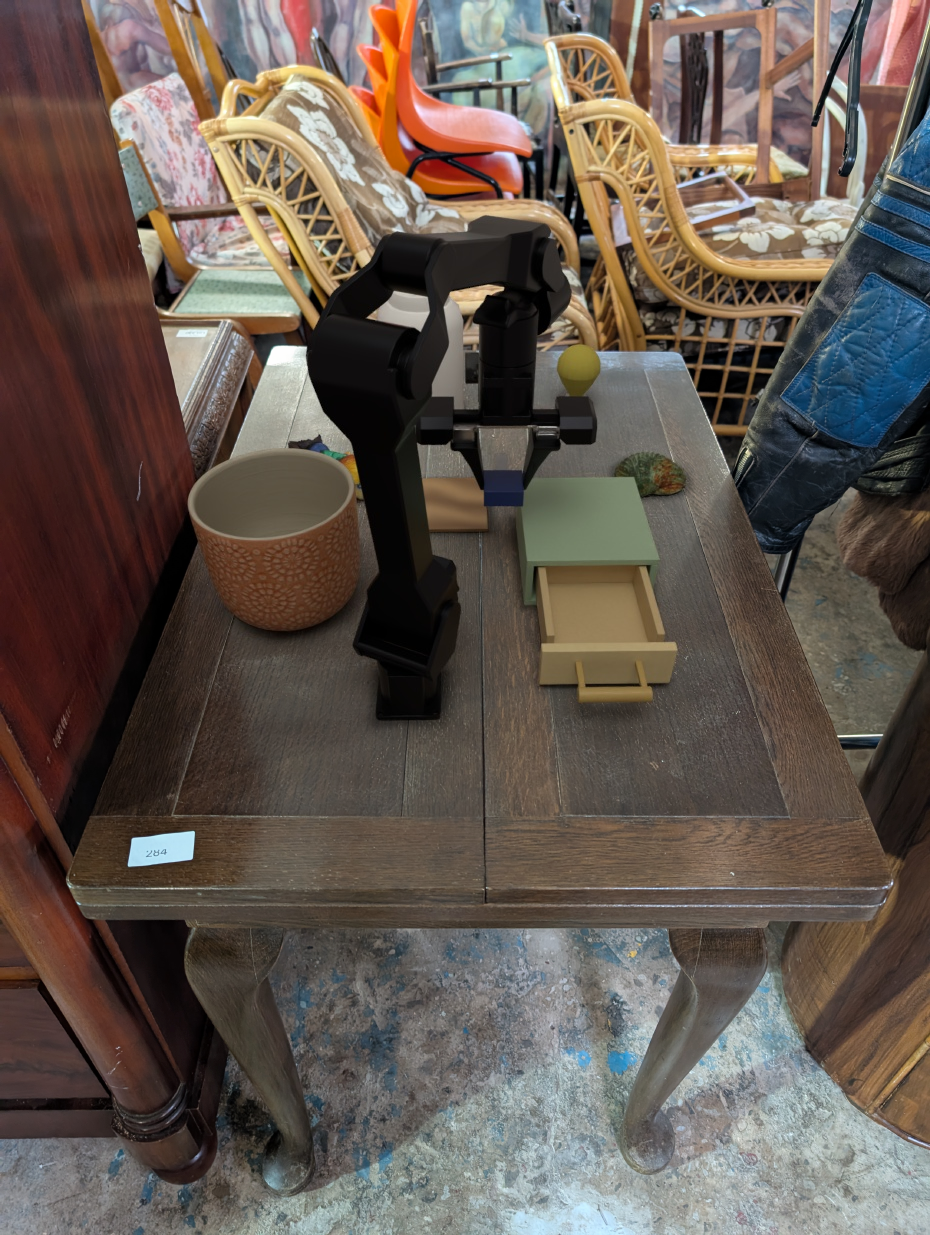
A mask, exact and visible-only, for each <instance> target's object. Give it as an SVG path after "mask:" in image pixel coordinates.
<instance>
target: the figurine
mask: <svg viewBox="0 0 930 1235" xmlns="http://www.w3.org/2000/svg"><path fill="white" fill-rule="evenodd" d="M317 434H318V435H317V436H316V437H314V438H313V439H310V438H307V439H300V440H297V441H296V440H289V441H287V448H294V449H304V450H310V451H315V452H319V453H322V454H325V455H328V456H330V457H332V458H334V459H336V460H337V461H339V462H340V463H342V464H343V465H344V466H345V467H346V468H347V469H348V470H349V471H350V473H351V475H352V477H353V479H354V484H355V491H356V499H358V500H361V501H362V500H364V499H363V495H362V490H361V486H360V481H359V477H358V472H357V467H356V463H355V458H354V454H353V453H351V451H346V452H344V453H341V452H338V451H333V450H330V448H329V446H327V445H326V443H324V442H323V440H322V439H323V438H322V435H321V434H320V433H319V432H317Z"/></svg>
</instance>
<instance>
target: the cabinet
mask: <svg viewBox="0 0 930 1235" xmlns="http://www.w3.org/2000/svg"><path fill="white" fill-rule="evenodd" d="M641 498H642V497H641V496H640V495H639V492H638V488H637V485H636V482H635V479H634V477H616V476H604V477H603V476H601V477H600V476H599V477H598V476H595V477H592V476H590V477H589V476H588V477H587V476H586V477H585V476H584V477H533V478H532V480H531V482H530V484H529V485H528V487H527V489H526V490H524V501H523V506H515V530H516V538H517V540H516V541H517V549H518V557H519V566H520V569H519V570H520V578H521V587H522V596H523V597H522V598H523V606H537V601H536V593H535V571H536V566H593V565H646V568H647V572H648V575H649V579H650V582H651V586H652V589H653V590H654V589H655V588H654V587H655V583H656V579H657V578H656V577H657V574H658V569H659V564H660V560H661V559H660V556H659V553H658V550H657V546H656V543H655V540H654V537H653V533H652V531H651V527H650V524H649V521H648V518H647V514H646V511H645V507H644V505H643V502H642V499H641Z"/></svg>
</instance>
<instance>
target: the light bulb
mask: <svg viewBox="0 0 930 1235" xmlns="http://www.w3.org/2000/svg"><path fill="white" fill-rule="evenodd" d="M601 365H602V363H601V359H600V355H598V353H597V352H596V350H595V349H594V348H592V347H591V346H589V345H586V344H579V343H578V344H573V345H571V346H569V347H567V348H566V349H565V350H563V351H562V353H561V354H560V355H559V357H558V360H557V364H556V372H557V375H558V377H559V379H560V381H561V383H562V385H563V387H564V388H565V390H566V393H565V396H587V394H586V393H587V391H588V390H589V389H590V388H591V387H592V386H593V384H594V383H595V382H596V380H597V379H598V377H599V375H601V374H600V373H601V367H602V366H601Z"/></svg>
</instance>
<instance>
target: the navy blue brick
mask: <svg viewBox="0 0 930 1235" xmlns="http://www.w3.org/2000/svg"><path fill="white" fill-rule="evenodd" d="M522 473H523V469H510V464H509V454H508V453H494V469H484V490H483V491H484V506H487V507H516V506H523V501H524V486H523V480H522Z"/></svg>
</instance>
